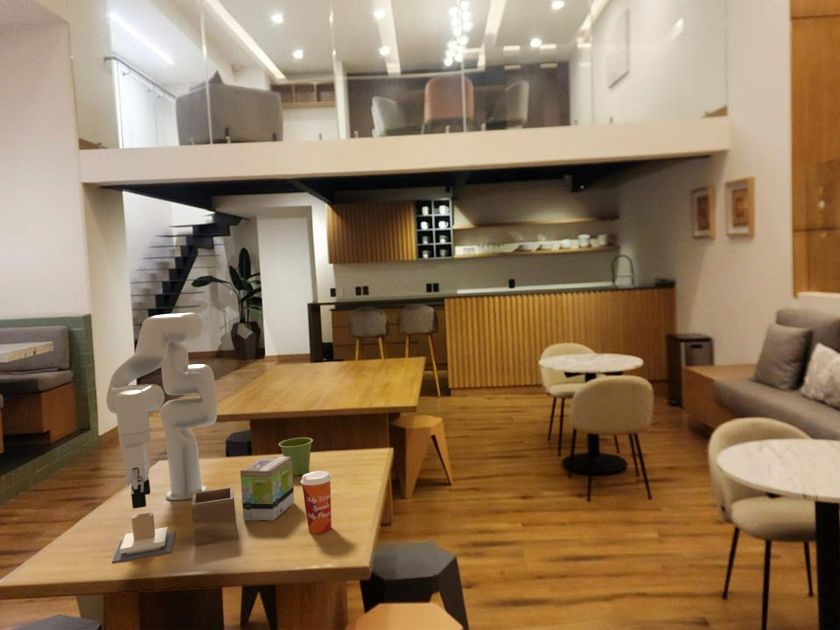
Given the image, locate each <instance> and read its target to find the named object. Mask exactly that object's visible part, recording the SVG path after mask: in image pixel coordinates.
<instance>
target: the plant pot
mask: <svg viewBox="0 0 840 630" xmlns="http://www.w3.org/2000/svg"><path fill="white" fill-rule="evenodd" d="M313 441H314V439H312V438H311V437H294V438H289V439H286V440H285V439H284V440H282V441H280V442H279V443H278V447H280V449H281V452H282V456H283V457H291V459H292V472H293V477H297V476H299V475H300V476H303V475H304V474H306V473H310V463H311V462H310V461H311V449H312V443H313Z"/></svg>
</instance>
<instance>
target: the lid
mask: <svg viewBox="0 0 840 630" xmlns="http://www.w3.org/2000/svg"><path fill="white" fill-rule="evenodd" d="M131 524H132V532H129V533H125V535H124V538H123V542H122V545H121V547H120V554H121V553H126V552H127V554H132V553H138V552H144V551H149V550H155V549H160V548H161V546H165V543H166V538H167V534H168V533H169V527H168V526H166V527H165V526H164V527H159V528H155V517H154V512H153V511H152V512H146V513H140V514H132V517H131Z"/></svg>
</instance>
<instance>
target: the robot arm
mask: <svg viewBox="0 0 840 630" xmlns="http://www.w3.org/2000/svg"><path fill="white" fill-rule="evenodd" d="M203 328H204V327H203V319H202V318H201V316H200V315H199V314H198V313H196V312H184V313H166V314H157V315H153V316H149V317H147V318H145V319H144V320H143V322H142V324H141V327H140V330H139V335H138V340H137V344H136V348H135V352H134V354H132V356H130V357H129V358H127V360H125V361H124V362H123V363H122V364H121V365H120V366H118V367H117V368H116V370H115V371H114V372H113V374H112V375H111V378H110V380H109V381H110V382H109V385H108V389H107V393H106V406H107V409H108V411H110V412H111V413H112V414H114V415H115V414H116V421H117V422H116V423H117V432H118V438H119V439H118V440H119V441H118V442H119V446H120V447H121V448H123V462H124V476H125V477H124V478H125V484H126V485H127V486H129V485H130V484H131V485H130V487H131V488H130V489H131V491H130V492H131V493H130V496H131V503H132V505H131V506H132V509H138V508H139V509H140V508H145V507H147V499H146V495H150V494H151V486H150V485H151V484H150V478H149V474H150V460H149V450H148V444H149V443H150V442H151V441H152V437H151V428H150V420H149V414H150V413H151V412H155V411H157V410H159V409H160V420H161V423H162V426H163V430H164V435H165V442H166V451H167V452H166V453H167V462H168V463H167V465H168V473H169V474H168V475H169V484H170V490H169V491H167V492H166V493H165V497H166V499H167V500H170V501H186V500H190V499H191V500H192V498H193V493H195V492H202V491H208V489H207V488H208V487H207V486H205V485H203V484H202V479H201V478H202V477H201V467H200V465H201V464H200V456H199V447H198V445H199V444H198V439H197V436H196V435H195V433H194V432H193V431H192V430H191V428H199V427H200V428H201V427H209V426H212V425H214V424H215V423H216V421H217V418H218V405H217V394H216V393H217V392H216V383H215V382H216V380H215V375H214V372H213V369H212V368H211V366H210V365H209V364H208V365H207V364H203V363H202V364H201V363H198V364H190V361H189V351H188V348H187V347H186V345H185V344H184V343H183V342H192V341H195V340H197V339H199V338H200V337H201V335H202V333H203ZM160 368H161V377H162V387H163V388H162V387H161V386H160V385H159V384H155V383H144V384H131V383H132V382H134V381H135V380H137V379H140V378H141V377H143V376H145V375H148V374H150V373H152V372H154V371H157V370H158V369H160ZM130 384H131V385H130ZM165 393H166V394H167V395H169V396H185V395H196V394H197V395H199V397H188V398H187V397H186V398H177V399H171V400H170V399H169V400H168V401H166V402H165Z"/></svg>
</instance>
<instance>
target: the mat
mask: <svg viewBox="0 0 840 630" xmlns="http://www.w3.org/2000/svg"><path fill="white" fill-rule="evenodd" d="M175 537H176V531H171V532H168V534H167V538H166V543H165V546H161V548H160V549H155V550H149V551H144V552H138V553H132V554H127V552H126V553H121V554H120V547H121V545H122V542H123V540H124V539H123V540H120V542H119V544H118V546H117V549H116V551H115V554H114V556H113V558H112V561H111V563H112V564H114V562H115V563H121V562H126V561H132V560H136V559H143V558H149V557H154V556H161V555H164V554H165V555H166V554H171V553H173V549H174V548H173V547H174V544H175Z"/></svg>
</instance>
